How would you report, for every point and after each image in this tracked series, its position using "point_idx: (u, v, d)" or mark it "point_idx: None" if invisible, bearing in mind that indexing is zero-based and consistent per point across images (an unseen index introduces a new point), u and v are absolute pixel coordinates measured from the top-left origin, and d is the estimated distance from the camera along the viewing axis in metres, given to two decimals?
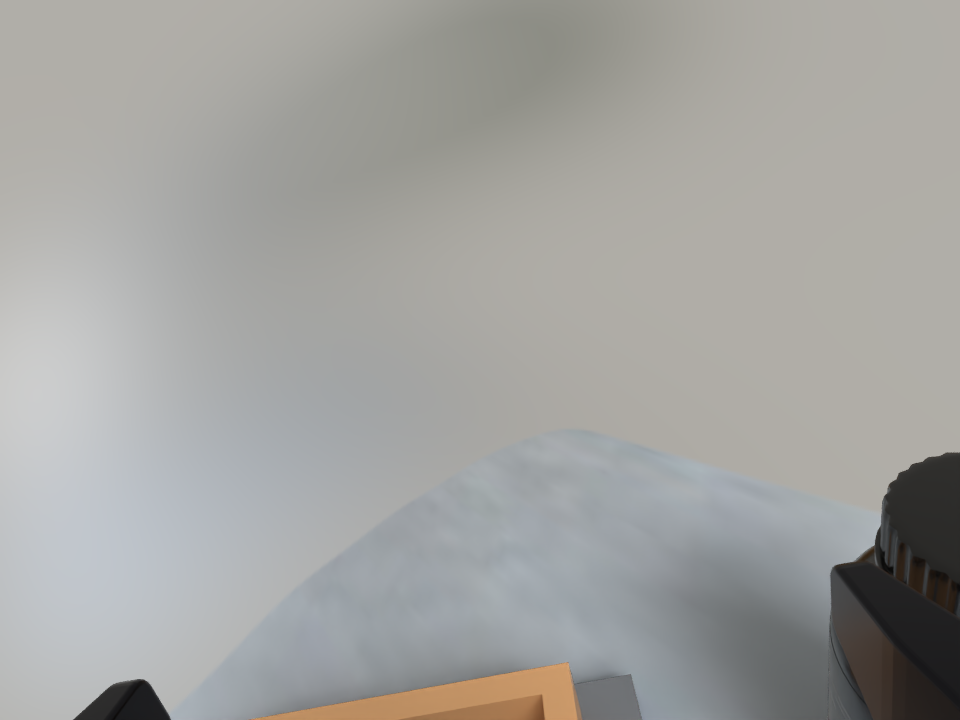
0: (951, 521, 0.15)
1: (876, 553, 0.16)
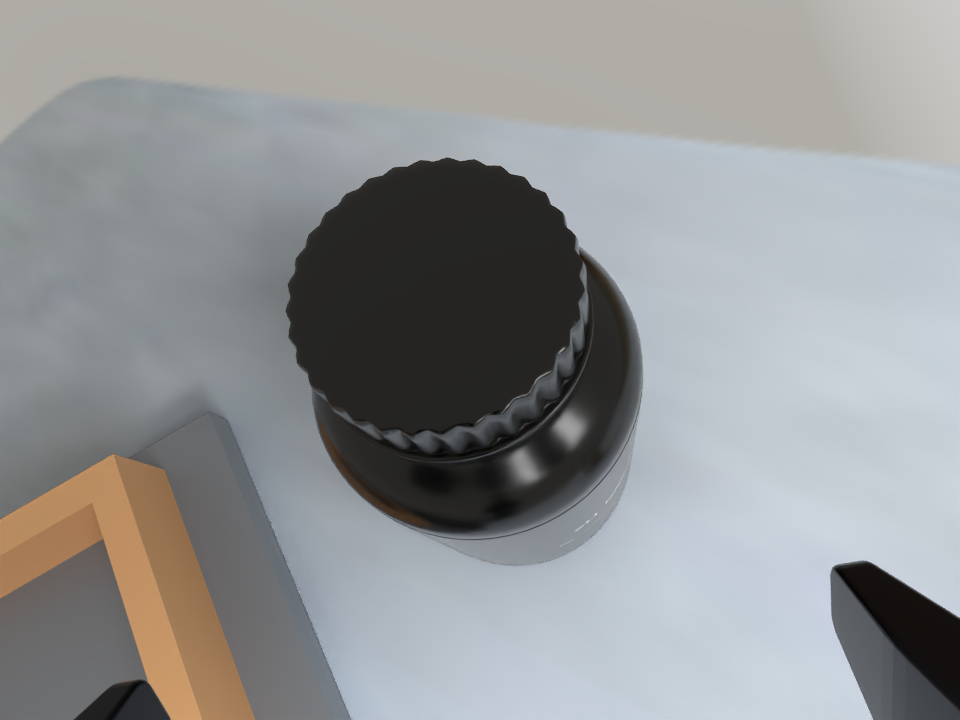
0: (358, 313, 0.11)
1: None
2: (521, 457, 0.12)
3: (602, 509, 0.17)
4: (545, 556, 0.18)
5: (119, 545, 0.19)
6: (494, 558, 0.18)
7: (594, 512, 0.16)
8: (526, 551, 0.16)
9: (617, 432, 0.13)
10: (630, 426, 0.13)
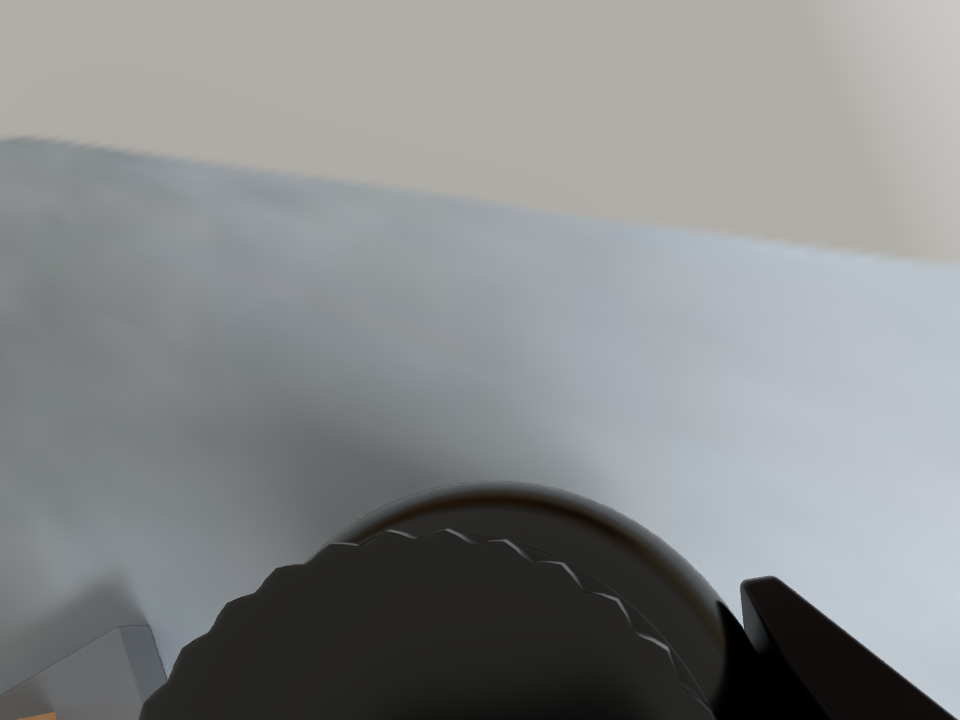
0: None
1: None
2: None
3: None
4: None
5: None
6: None
7: None
8: None
9: None
10: None
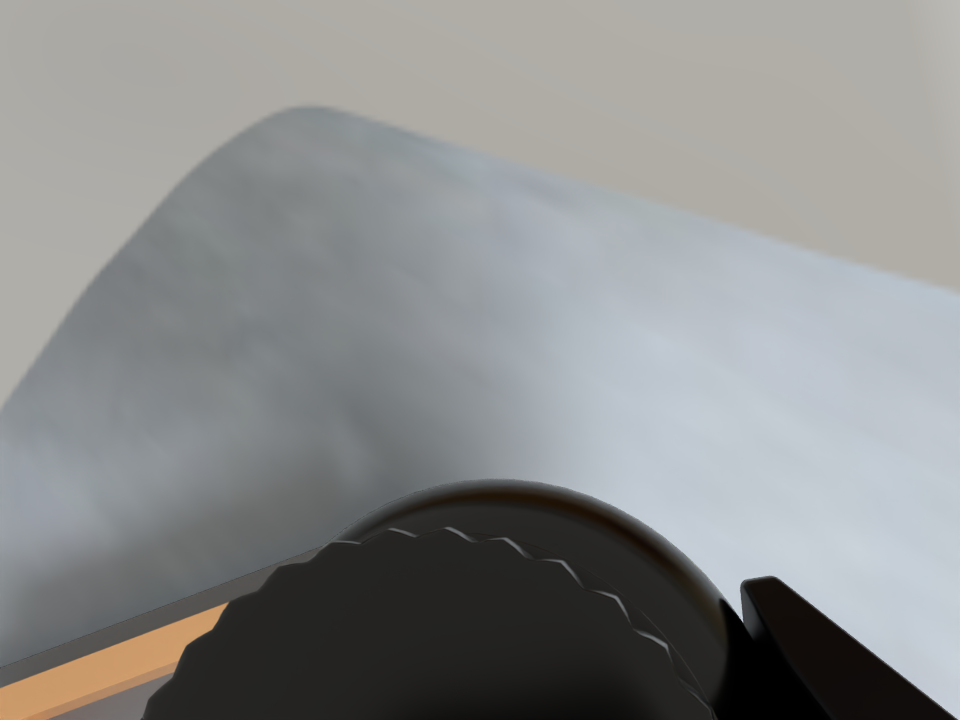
0: None
1: None
2: None
3: None
4: None
5: None
6: None
7: None
8: None
9: None
10: None
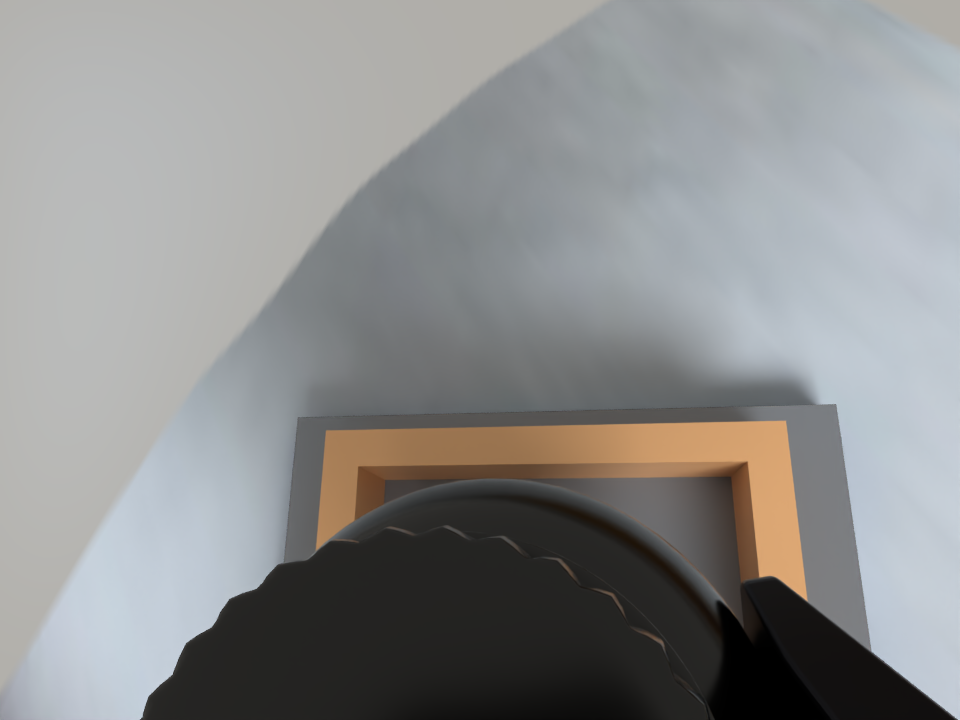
0: None
1: None
2: None
3: None
4: None
5: (770, 525, 0.17)
6: None
7: None
8: None
9: None
10: None
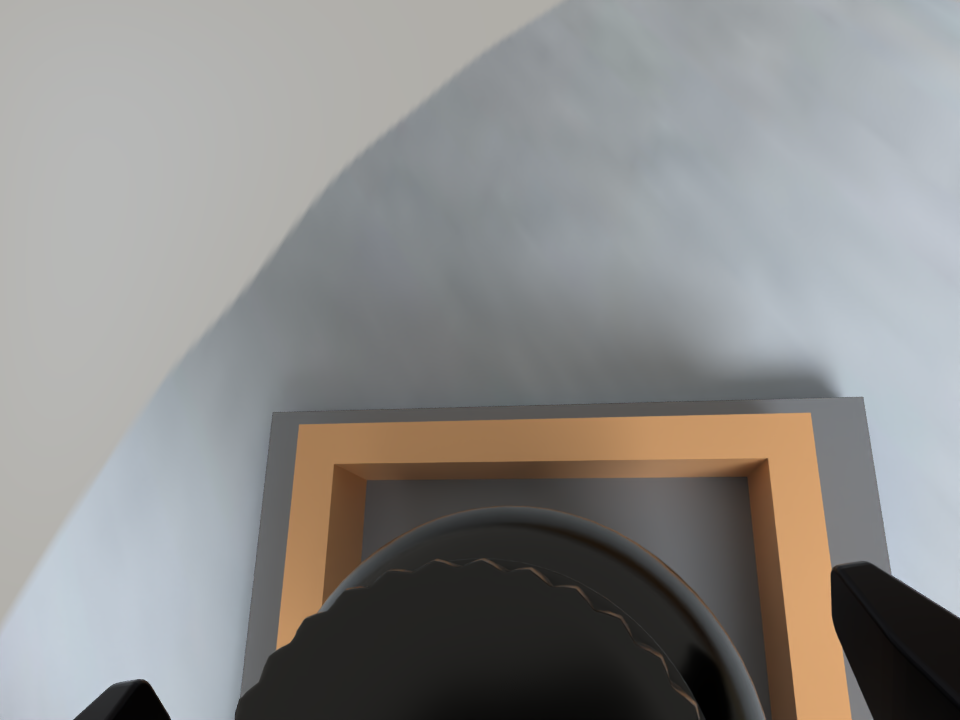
0: None
1: None
2: None
3: None
4: None
5: (794, 530, 0.15)
6: None
7: None
8: None
9: None
10: None
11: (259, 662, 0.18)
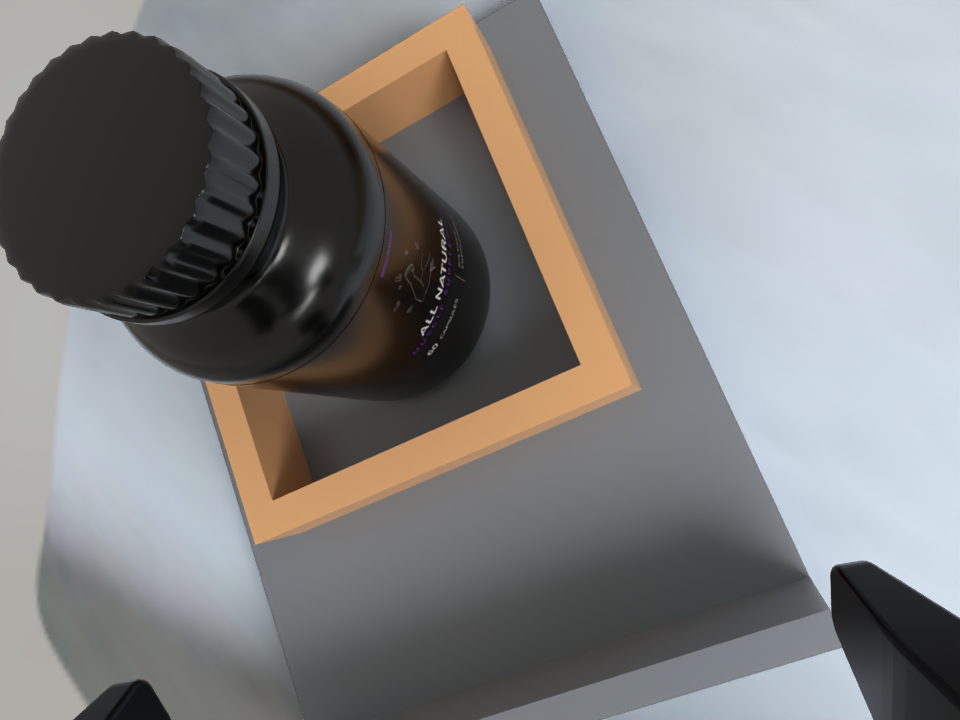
0: (49, 216, 0.12)
1: None
2: (275, 281, 0.13)
3: (442, 306, 0.18)
4: (429, 370, 0.20)
5: (476, 87, 0.20)
6: (379, 389, 0.19)
7: (425, 310, 0.17)
8: (386, 369, 0.18)
9: (358, 224, 0.14)
10: (373, 215, 0.14)
11: None
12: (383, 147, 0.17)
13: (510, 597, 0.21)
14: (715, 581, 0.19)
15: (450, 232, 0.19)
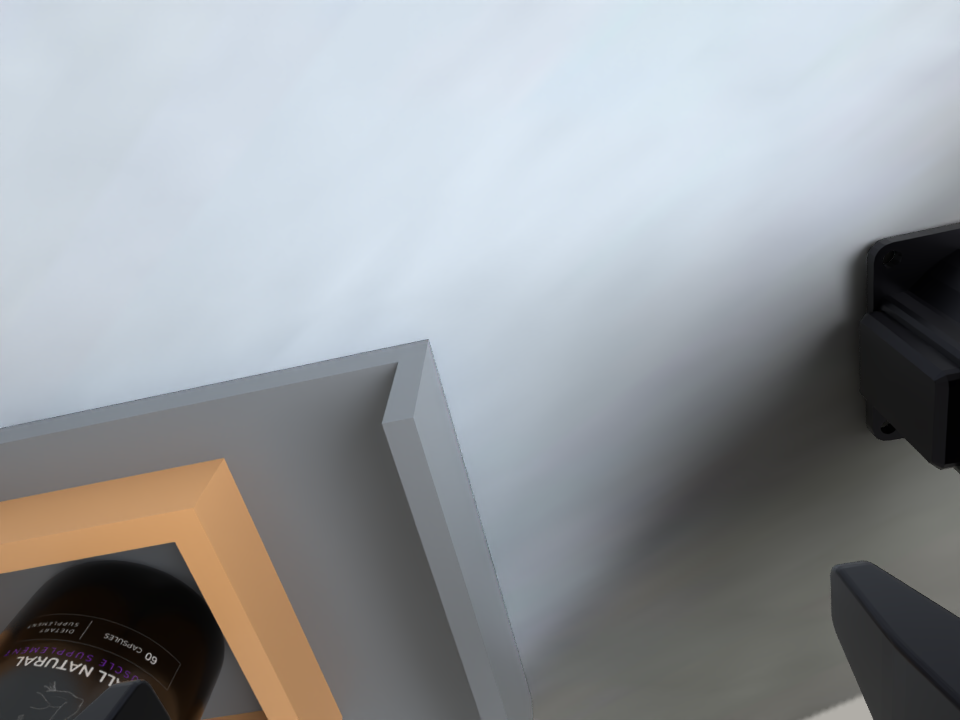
0: None
1: None
2: None
3: (102, 661, 0.20)
4: (180, 646, 0.22)
5: None
6: (186, 700, 0.22)
7: (96, 689, 0.19)
8: None
9: None
10: None
11: None
12: None
13: (404, 580, 0.24)
14: None
15: (36, 641, 0.20)
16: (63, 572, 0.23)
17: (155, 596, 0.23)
